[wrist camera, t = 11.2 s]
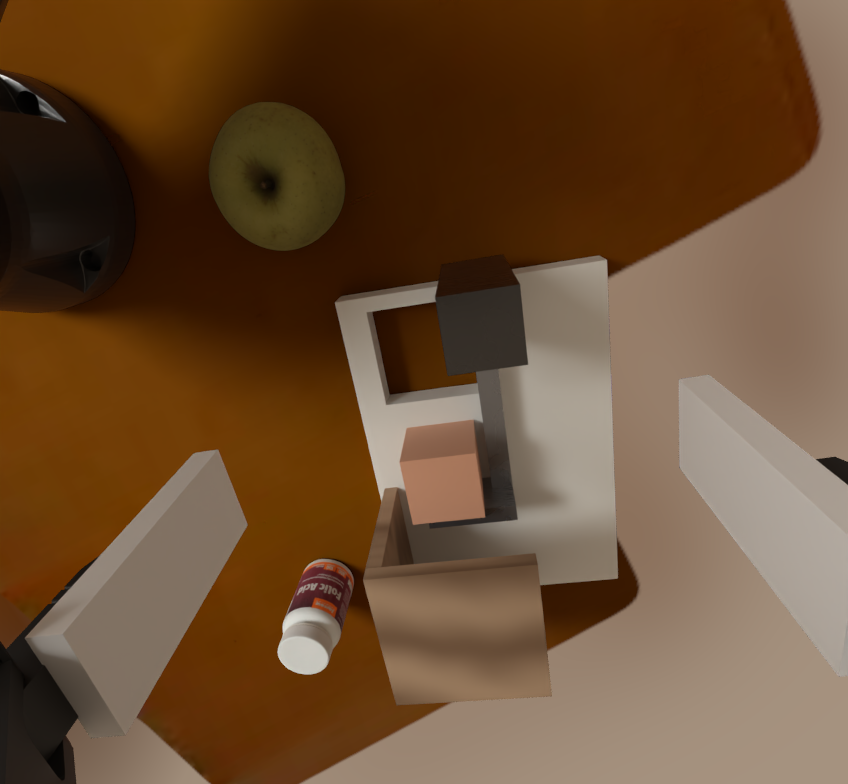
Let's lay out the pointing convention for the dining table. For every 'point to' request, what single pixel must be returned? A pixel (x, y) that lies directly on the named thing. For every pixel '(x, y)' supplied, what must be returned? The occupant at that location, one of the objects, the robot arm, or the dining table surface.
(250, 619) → the dining table surface
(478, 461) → the cube
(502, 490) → the grey u-shaped bracket
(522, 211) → the dining table surface
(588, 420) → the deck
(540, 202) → the dining table surface
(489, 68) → the dining table surface
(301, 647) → the pill bottle
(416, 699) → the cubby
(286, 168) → the apple
